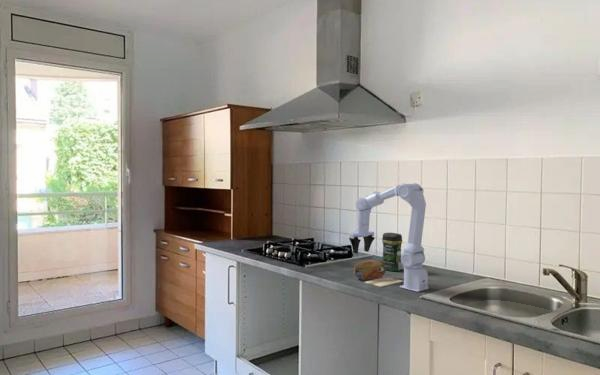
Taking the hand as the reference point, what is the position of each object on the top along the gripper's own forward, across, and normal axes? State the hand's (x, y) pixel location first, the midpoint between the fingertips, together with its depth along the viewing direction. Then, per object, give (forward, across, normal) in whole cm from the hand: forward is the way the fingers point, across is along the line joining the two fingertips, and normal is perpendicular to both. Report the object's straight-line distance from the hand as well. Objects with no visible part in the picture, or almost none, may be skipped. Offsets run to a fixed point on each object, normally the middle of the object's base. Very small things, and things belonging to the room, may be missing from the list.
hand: (360, 252), depth 204 cm
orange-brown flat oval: (+11, 0, +6) cm, 13 cm away
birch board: (+10, 0, +15) cm, 18 cm away
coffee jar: (+11, -23, +1) cm, 26 cm away
